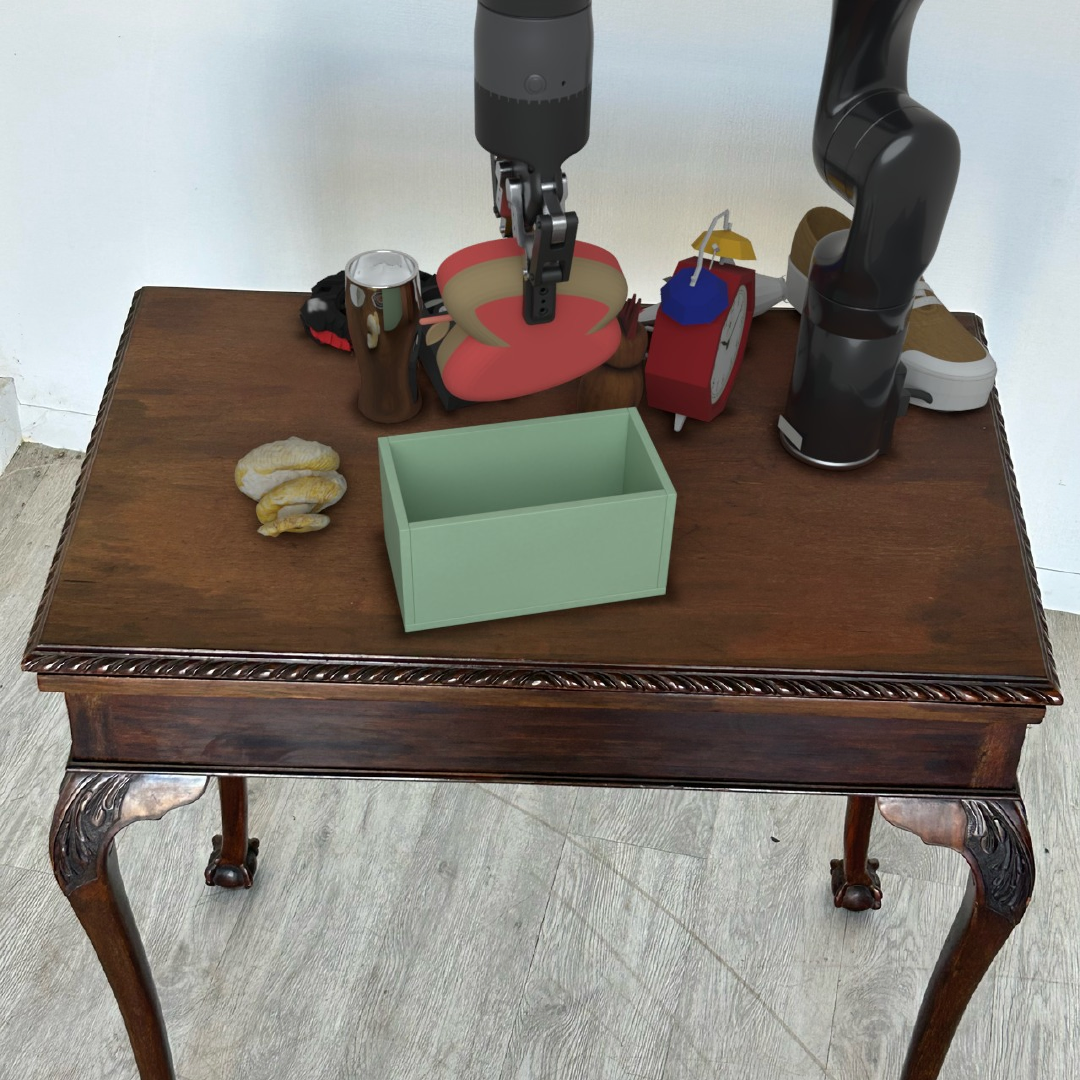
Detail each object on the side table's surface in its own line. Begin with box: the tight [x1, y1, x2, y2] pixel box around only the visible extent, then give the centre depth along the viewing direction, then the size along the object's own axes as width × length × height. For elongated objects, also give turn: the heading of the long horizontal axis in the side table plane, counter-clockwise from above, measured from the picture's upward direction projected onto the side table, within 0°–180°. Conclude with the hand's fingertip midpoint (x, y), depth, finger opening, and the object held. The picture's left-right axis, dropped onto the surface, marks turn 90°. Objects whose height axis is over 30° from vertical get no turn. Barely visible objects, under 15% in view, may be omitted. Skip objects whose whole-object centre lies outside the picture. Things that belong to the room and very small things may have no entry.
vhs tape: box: [418, 284, 486, 412], centre depth 135 cm, size 14×8×2 cm, turn 25°
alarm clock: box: [642, 208, 758, 432], centre depth 126 cm, size 15×9×20 cm, turn 157°
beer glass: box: [344, 248, 423, 424], centre depth 127 cm, size 7×7×15 cm
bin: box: [377, 407, 678, 633], centre depth 111 cm, size 22×12×11 cm, turn 103°
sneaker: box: [785, 205, 998, 412], centre depth 137 cm, size 10×29×10 cm, turn 27°
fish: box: [638, 257, 790, 326], centre depth 141 cm, size 10×26×10 cm
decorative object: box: [419, 238, 629, 402], centre depth 100 cm, size 14×4×15 cm
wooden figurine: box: [576, 293, 649, 414], centre depth 124 cm, size 7×6×15 cm
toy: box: [299, 269, 437, 352], centre depth 142 cm, size 17×16×3 cm
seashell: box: [233, 435, 348, 538], centre depth 119 cm, size 10×6×15 cm
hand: (529, 301), depth 98 cm, fingers closed on decorative object, 4 cm apart
